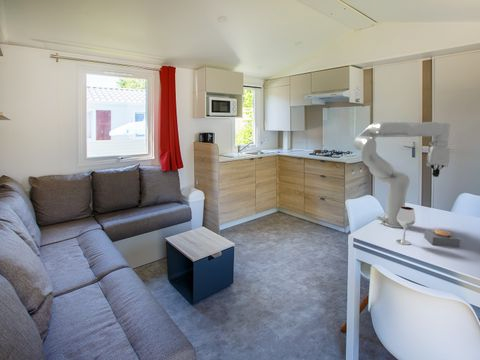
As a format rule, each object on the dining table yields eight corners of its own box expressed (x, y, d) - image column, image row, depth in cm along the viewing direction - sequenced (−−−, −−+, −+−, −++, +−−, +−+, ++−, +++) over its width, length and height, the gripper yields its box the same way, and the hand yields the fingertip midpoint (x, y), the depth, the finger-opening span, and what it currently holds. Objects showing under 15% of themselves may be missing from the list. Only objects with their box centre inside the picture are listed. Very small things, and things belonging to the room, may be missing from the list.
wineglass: (390, 239, 154) (394, 206, 150) (405, 239, 154) (409, 205, 151) (400, 245, 146) (404, 210, 142) (416, 245, 146) (420, 210, 143)
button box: (432, 244, 147) (433, 237, 146) (424, 237, 157) (425, 230, 156) (459, 247, 145) (460, 239, 144) (449, 239, 154) (450, 232, 153)
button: (436, 243, 148) (437, 233, 147) (430, 238, 154) (432, 229, 153) (451, 244, 146) (453, 234, 146) (445, 239, 153) (446, 230, 152)
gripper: (427, 144, 166) (423, 177, 169) (457, 145, 163) (453, 178, 166) (422, 143, 173) (418, 174, 176) (451, 144, 170) (446, 175, 173)
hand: (435, 176), depth 171 cm, fingers closed
